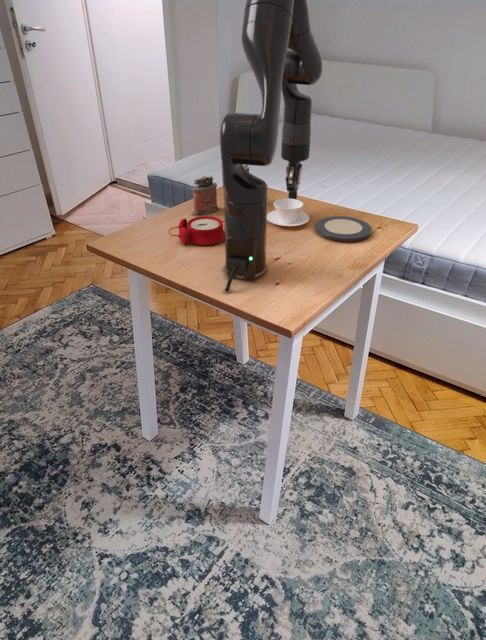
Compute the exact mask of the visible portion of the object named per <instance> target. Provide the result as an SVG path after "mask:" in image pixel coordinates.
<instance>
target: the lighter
mask: <svg viewBox="0 0 486 640" xmlns="http://www.w3.org/2000/svg"><path fill="white" fill-rule="evenodd" d="M213 181H214V176H212V175H209V176H206V175H203V176H202V177H199V178H195V179H194V185H195V186H193V187H192V188H191V191H192V195H193V215H194V216H196V217H201V216H206V215H208V214H212V213H214V212H216V211H218V210H219V209H218V208H219V206H218V194H217V187H218V183H217V182H213Z"/></svg>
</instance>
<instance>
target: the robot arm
mask: <svg viewBox="0 0 486 640" xmlns="http://www.w3.org/2000/svg"><path fill="white" fill-rule="evenodd" d="M309 13H310V12H309V6H308V1H307V0H246V1H245V5H244V11H243V19H242V26H241V36H240V42H241V46H242V51H243V53H244V56H245V58H246V61H247V63H248V65H249V67H250V69H251V71H252V74H253V75H254V78H255V81H256V83H257V86H258V89H259V93H260V97H261V112H260V114H258V113H244V112H243V113H242V112H229V113H227V114H225V115H224V116H223V118H222V121H221V123H220V130H219V150H220V151H219V152H220V161H221V175H222V188H223V212H224V213H223V215H224V216H223V217H224V218H223V219H224V220H223V221H225V222H224V230H225V231H224V232H225V239H224V255H225V256H224V257H225V265H224V270H225V273H226V274H227V278H228V279H227V283H226V285H225V288H224V291H225V292H226V293H228V292H229V291H230V289H231V285H232V282H233V279H238V280H239V279H240V280H246V281H255V279H256V278H259V277H262V276H263V275H264V274H265V273H266V271H267V268H266V267H267V265H266V262H267V261H266V257H267V226H268V220H267V214H268V194H269V190H268V188H269V187H268V184H267V182H266V181H265V180H263V179H262V178H260V177H258V176H256V175H254V174H252V173H251V172H250V171H249V172H248V171H247V170H246V169H245V168H244V167H243V165H248V166H258V167H259V166H260V167H267V166H269V165H271V164H272V163H273V161H274V158H275V156H276V151H277V144H278V136H279V124H280V112H281V100H283V123H282V128H281V149H280V150H281V151H280V157H281V159H282V160H284V161H287V162H288V163H287V165H286V168H285V173H286V176H285V178H284V179H285V185H286V192H288V198H291V199H297V200H298V190H299V187H300V184H301V182H300V181H301V179H302V171H303V163H301V162H305V161H307V160H309V158H310V149H311V135H312V126H311V125H312V123H311V121H312V110H313V109H312V108H313V100H312V98H311V96H309V95H306V94H305V93H302V92H301V91H300V90H299V88H298V85H301V86H314V85H316V84H317V83H318V82H319V80H320V79H321V77H322V73H323V60H322V55H321V53H320V50H319V48H318V46H317V43H316V41H315V37H314V35H313V33H312V29H311V22H310V14H309ZM281 97H282V98H281ZM242 164H243V165H242Z"/></svg>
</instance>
